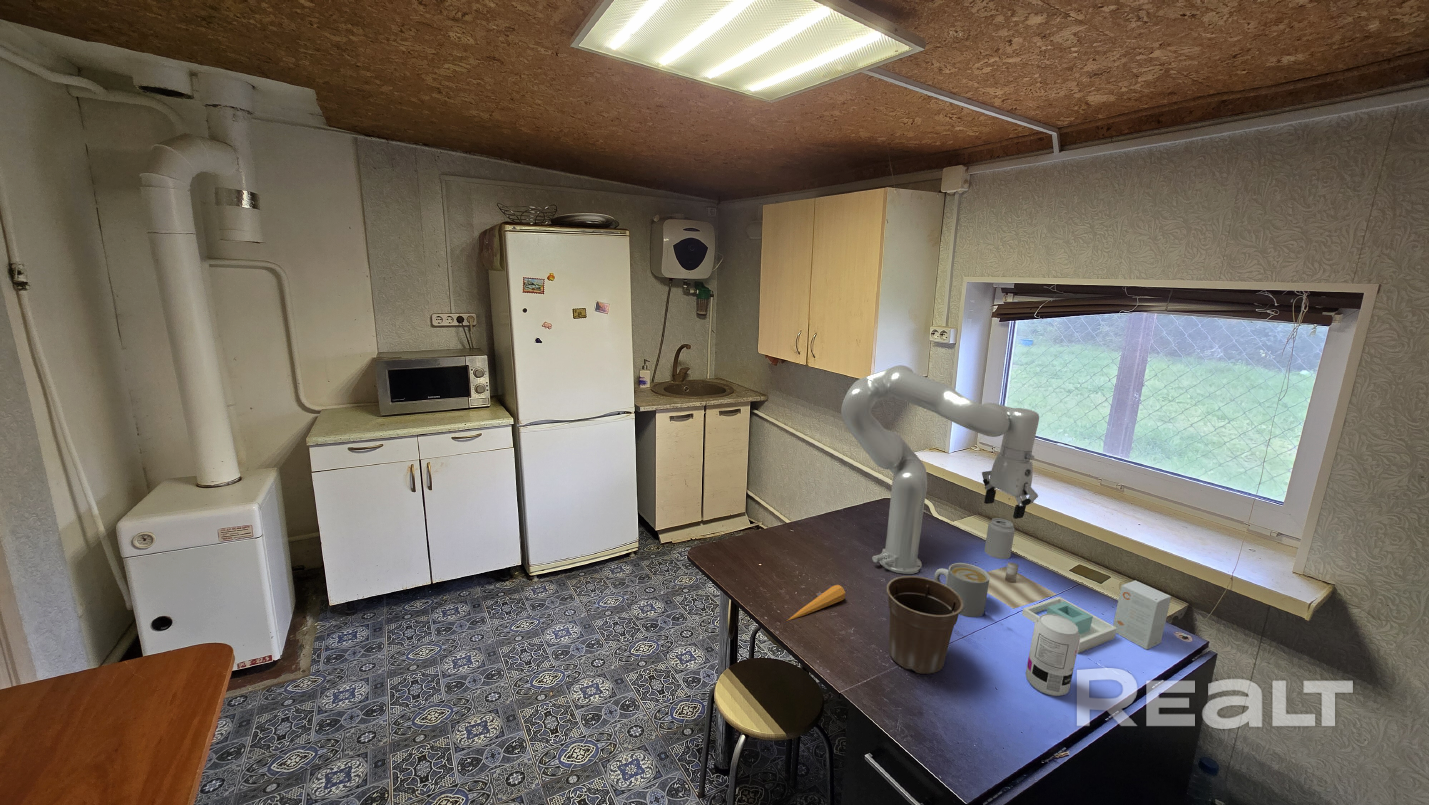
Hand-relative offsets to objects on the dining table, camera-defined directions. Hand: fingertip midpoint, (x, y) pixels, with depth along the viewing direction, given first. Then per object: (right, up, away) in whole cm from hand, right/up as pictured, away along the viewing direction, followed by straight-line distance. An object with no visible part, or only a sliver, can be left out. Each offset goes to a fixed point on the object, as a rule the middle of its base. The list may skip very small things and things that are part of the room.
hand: (1002, 510), depth 154 cm
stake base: (+2, -23, +1) cm, 23 cm away
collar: (+8, -26, -16) cm, 32 cm away
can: (+9, -19, +20) cm, 29 cm away
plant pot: (-35, -29, -28) cm, 53 cm away
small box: (+24, -28, -18) cm, 41 cm away
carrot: (-55, -24, -10) cm, 61 cm away
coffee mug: (-15, -24, -6) cm, 29 cm away
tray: (+8, -27, -16) cm, 32 cm away
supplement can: (-9, -31, -35) cm, 48 cm away
